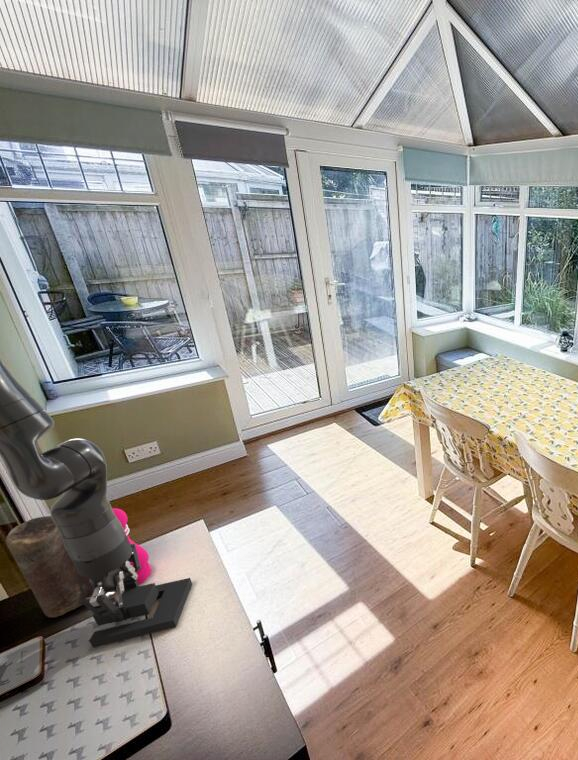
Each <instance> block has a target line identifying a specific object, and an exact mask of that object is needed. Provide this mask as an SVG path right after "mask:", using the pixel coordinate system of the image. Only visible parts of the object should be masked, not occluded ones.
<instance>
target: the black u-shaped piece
mask: <svg viewBox="0 0 578 760" xmlns="http://www.w3.org/2000/svg"><path fill="white" fill-rule="evenodd" d="M155 585H156V587H157V590H158V592H159V594H158V596H157V598H156V600H159V602H158V604H157V607H156V609H155V611H154V613H153V615H152V617H150V618H145V619H140V620H137V621H132V622H128V623H124V624H120V625H116V626H112V627H108V628H104V629H100V630H95V631H94V632H93V633H92V635H91V637H90V639H89V641H88V642H89V644H90V645H91V647H92V648H93V649H96V648H99V647H103V646H107V645H111V644H115V643H119V642H123V641H127V640H130V639H134V638H138V637H139V638H140V637H143V636H146V635H150V634H154V633H158V632H162V631H166V630H171V629H174V628H177V626H178V623H179V621H180V619H181V615H182V613H183V610H184V608H185V605H186V602H187V600H188V597H189V594H190V592H191V589H192V587H193V581H192V580H191V577H187V578H181V579H178V580H173V581H169V582H164V583H160V584H155Z"/></svg>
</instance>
